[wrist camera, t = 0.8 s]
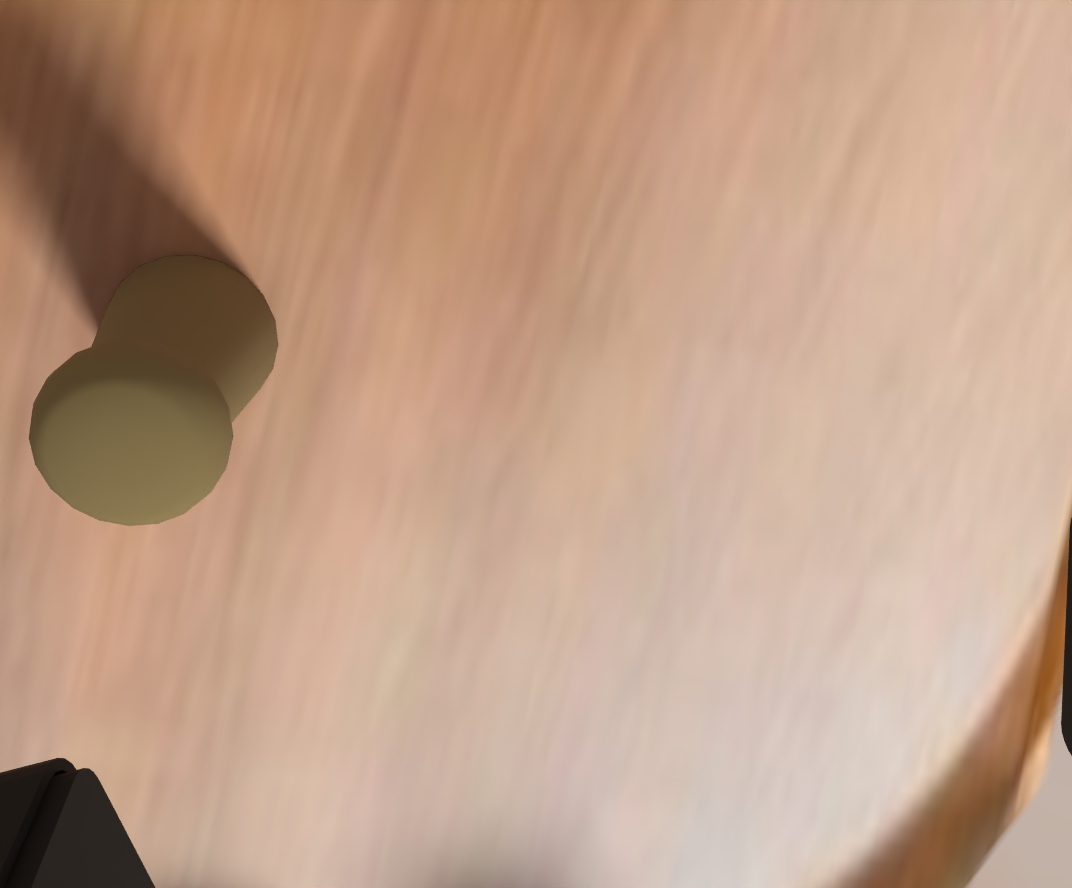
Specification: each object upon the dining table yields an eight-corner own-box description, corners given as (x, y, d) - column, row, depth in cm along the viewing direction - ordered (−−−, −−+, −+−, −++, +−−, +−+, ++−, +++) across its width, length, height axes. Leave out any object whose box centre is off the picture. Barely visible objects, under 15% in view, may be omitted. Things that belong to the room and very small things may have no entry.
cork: (135, 226, 33) (31, 309, 23) (302, 295, 35) (272, 401, 25) (82, 378, 35) (-35, 516, 25) (244, 437, 37) (195, 587, 27)
